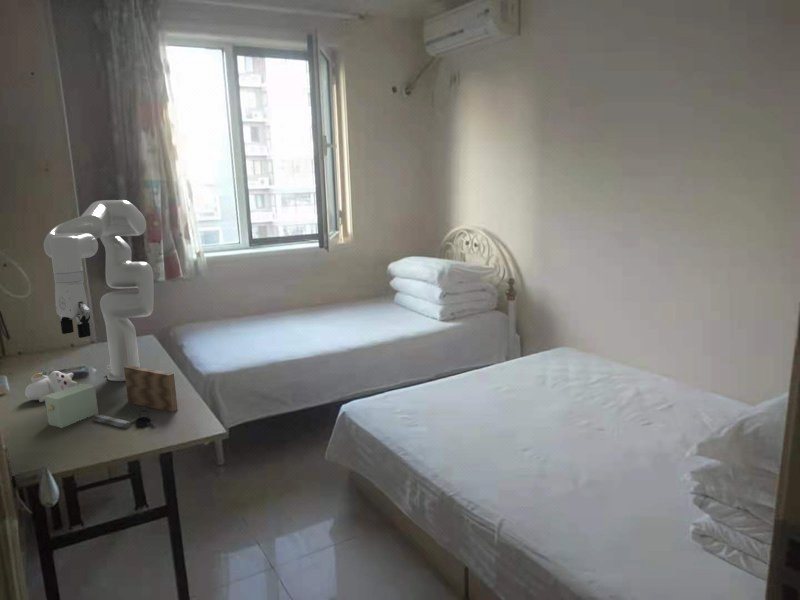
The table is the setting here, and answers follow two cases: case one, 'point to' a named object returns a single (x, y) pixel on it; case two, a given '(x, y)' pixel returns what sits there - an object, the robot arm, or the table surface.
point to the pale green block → (71, 405)
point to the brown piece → (146, 392)
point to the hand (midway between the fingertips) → (76, 334)
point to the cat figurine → (48, 384)
